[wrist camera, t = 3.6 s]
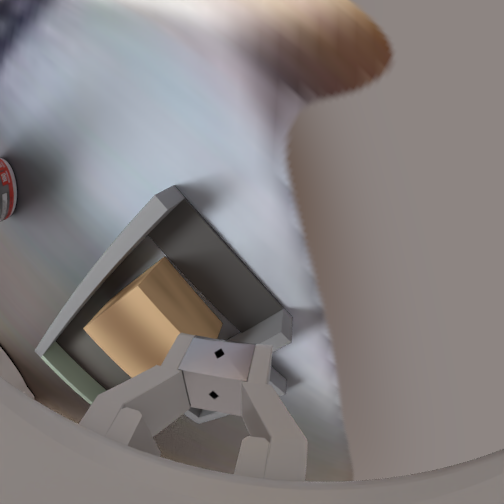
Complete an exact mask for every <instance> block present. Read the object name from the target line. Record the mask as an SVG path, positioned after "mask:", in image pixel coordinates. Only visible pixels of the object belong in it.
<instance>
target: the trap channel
mask: <svg viewBox="0 0 504 504" xmlns="http://www.w3.org/2000/svg"><path fill="white" fill-rule="evenodd" d="M147 235H149V237H150V238H151V239H152V240H153V241H154V242H155V243H156V244H157V246H158V247H159V248H160V249H161V250H162V251H163V252H164V253H165V254H166V255H167V257H168V258H169V259H170V260H171V261H172V262H173V263H174V264H175V265H176V266H177V267H178V268H179V270H180V271H181V272H182V273H183V274H184V275H185V276H186V277H187V278H188V279H189V280H190V281H191V282H192V283H193V284H194V285H195V286H196V287H197V289H198V290H199V291H200V292H201V293H202V294H203V295H204V296H205V297H206V298H207V299H208V300H209V301H210V302H211V303H212V304H213V305H214V306H215V307H216V308H217V309H218V310H219V311H220V312H221V313H222V314H223V315H224V316H225V317H226V318H227V319H228V320H229V321H230V322H231V323H232V324H233V325H234V326H235V327H236V328H237V329H238V330H239V331H240V333H239V334H237V335H235V336H233V337H231V338H230V339H228V340H227V341H235V342H243V343H252V344H263V345H272V346H273V351H272V353H273V352H275V351H277V350H278V349H280V348H282V347H284V346H286V345H288V344H290V343H291V342H292V320H293V317H292V316H291V315H290V314H289V313H288V312H287V311H286V310H285V309H284V307H283V306H282V305H281V304H280V303H279V302H278V301H277V300H276V299H275V298H274V297H273V295H272V294H271V293H270V292H269V291H268V290H267V289H266V288H265V287H264V285H263V284H262V283H261V282H260V281H259V280H258V279H257V278H256V277H255V276H254V274H253V273H252V272H251V271H250V270H249V269H248V268H247V267H246V266H245V264H244V263H243V262H242V261H241V260H240V259H239V258H238V257H237V256H236V254H235V253H234V252H233V251H232V250H231V249H230V248H229V247H228V245H227V244H226V243H225V242H224V241H223V240H222V239H221V238H220V237H219V235H218V234H217V233H216V232H215V231H214V230H213V229H212V228H211V226H210V225H209V224H208V223H207V222H206V221H205V220H204V219H203V217H202V216H201V215H200V214H199V213H198V212H197V211H196V209H195V208H194V207H193V206H192V205H191V204H190V203H189V202H188V200H187V199H186V198H185V197H184V196H183V195H182V194H181V192H180V191H179V190H178V189H177V188H176V187H175V186H174V185H173V186H171V187H169V188H168V189H166V190H164V191H162V192H160V193H158V194H156V195H155V196H154V197H153V198H152V199H151V200H150V201H149V202H148V203H147V204H146V205H145V206H144V207H143V208H142V210H141V211H140V212H139V213H138V214H137V215H136V216H135V217H134V218H133V220H132V221H131V222H130V223H129V224H128V225H127V226H126V228H125V229H124V230H123V231H122V232H121V233H120V234H119V236H118V237H117V238H116V239H115V240H114V242H113V243H112V244H111V245H110V246H109V248H108V249H107V250H106V251H105V252H104V254H103V255H102V256H101V257H100V259H99V260H98V261H97V262H96V264H95V265H94V266H93V268H92V269H91V270H90V271H89V273H88V274H87V275H86V277H85V278H84V279H83V281H82V282H81V283H80V285H79V286H78V287H77V289H76V290H75V291H74V293H73V294H72V295H71V297H70V298H69V300H68V301H67V302H66V304H65V305H64V307H63V308H62V310H61V311H60V312H59V314H58V315H57V317H56V318H55V320H54V321H53V323H52V324H51V326H50V327H49V329H48V330H47V332H46V333H45V335H44V337H43V338H42V340H41V341H40V343H39V345H38V346H37V348H36V349H35V352H36V353H37V354H38V355H39V356H40V357H41V358H42V359H43V360H44V362H45V363H46V364H47V365H48V366H49V367H50V368H51V369H52V370H53V371H54V372H55V373H56V374H57V375H58V376H59V377H60V378H61V379H62V380H63V381H64V382H66V383H67V384H68V385H69V386H70V387H71V388H72V389H73V390H74V391H75V392H76V393H78V394H79V395H80V396H81V397H82V398H83V399H84V400H86V401H87V402H88V403H89V404H90V405H92V403H93V402H94V400H95V399H96V397H97V396H98V395H99V394H101V393H103V392H105V391H107V390H106V389H105V388H103V387H102V386H101V385H100V384H99V383H98V382H97V381H95V380H94V379H93V378H92V377H91V376H90V375H89V374H88V373H87V372H86V371H84V370H83V369H82V368H81V367H80V366H79V365H78V364H77V363H76V362H75V361H74V360H73V359H72V358H71V357H70V356H69V355H68V354H67V353H66V352H65V351H64V350H63V349H62V348H61V347H60V346H59V345H58V344H57V342H56V340H57V338H58V337H59V336H60V334H61V333H62V332H63V331H64V329H65V328H66V327H67V326H68V324H69V323H70V322H71V321H72V319H73V318H74V317H75V316H76V314H77V313H78V312H79V311H80V310H81V308H82V307H83V306H84V305H85V304H86V302H87V301H88V300H89V299H90V298H91V296H92V295H93V294H94V293H95V292H96V291H97V289H98V288H99V287H100V286H101V285H102V284H103V283H104V281H105V280H106V279H107V278H108V277H109V276H110V275H111V274H112V272H113V271H114V270H115V269H116V268H117V267H118V266H119V265H120V264H121V263H122V262H123V260H124V259H125V258H126V257H127V256H128V255H129V254H130V253H131V252H132V251H133V250H134V249H135V248H136V247H137V246H138V244H139V243H140V242H141V241H142V240H143V239H144V238H145V237H146V236H147ZM286 383H287V380H286V379H285V378H284V377H283V376H282V375H281V374H280V373H278V372H277V371H276V370H275V369H274V368H273V367H272V366H271V371H270V381H269V385H272V387H273V388H274V390H275V391H276V393H277V394H278V396H279V397H280V396H282V395H285V394H286ZM184 414H185V415H186V416H187V417H189V418H190V419H192V420H193V421H195V422H196V423H197V424H200V423H203V422H207V421H210V420H214V419H217V418H220V417H223V416H227V415H230V414H226V413H221V412H216V411H210V410H204V409H199V408H193V407H190V409H189V410H188V411H186V412H185V413H184Z"/></svg>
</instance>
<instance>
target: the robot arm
mask: <svg viewBox="0 0 504 504" xmlns="http://www.w3.org/2000/svg"><path fill="white" fill-rule="evenodd" d="M272 351H273V346H272V345H263V344H252V343H243V342H235V341H227V340H226V341H225V340H220V339H214V338H208V337H203V336H197V335H196V336H195V335H190V334H185V333H180V334H179V335H178V336H177V338H176V340H175V341H174V343H173V345H172V347H171V349H170V350H169V352H168V354H167V356H166V357H165V359H164V361H163V363H162V365H161V366H159V365H156V366H154V367H152V368H150V369H148V370H146V371H144V372H142V373H141V374H139V375H137V376H135V377H133V378H131V379H129V380H127V381H125V382H123V383H121V384H119V385H117V386H115V387H113V388H111V389H109V390H107V391H105V392H103V393H101V394H99V395H98V396H97V397H96V399H95V400H94V402H93V403H92V405H91V406H90V408H89V409H88V411H87V412H86V414H85V415H84V417H83V418H82V420H81V421H80V423H79V424H77V423H75V422H73V421H71V420H69V419H67V418H65V417H64V416H62V415H60V414H58V413H56V412H54V411H53V410H51V409H49V408H47V407H46V406H44V405H42V404H41V403H39V402H37V401H36V400H34V398H35V397H34V395H33V394H32V393H31V391H30V390H29V389H28V387H27V386H26V384H25V382H24V380H23V378H22V376H21V375H20V373H19V372H18V370H17V368H16V367H15V366H14V364H13V363H12V361H11V360H10V359H9V357H8V356H7V355H6V353H5V352H4V351H3V349H2V348H1V347H0V504H504V449H502V450H499V451H497V452H494V453H492V454H488V455H486V456H483V457H480V458H477V459H474V460H470V461H467V462H464V463H460V464H457V465H453V466H449V467H445V468H441V469H437V470H432V471H428V472H422V473H417V474H412V475H406V476H399V477H392V478H385V479H375V480H362V481H344V482H305V476H306V463H307V447H308V440H307V439H306V437H305V436H304V434H303V433H302V431H301V430H300V428H299V427H298V425H297V424H296V422H295V421H294V419H293V418H292V416H291V415H290V413H289V412H288V410H287V408H286V407H285V405H284V404H283V402H282V401H281V399H280V398H279V396H278V394H277V393H276V391H275V390H274V388H273V387H272V385H269V381H270V371H271V361H272ZM190 407H193V408H199V409H204V410H210V411H216V412H221V413H226V414H231V415H237V416H242V419H243V421H244V424H245V426H246V428H247V430H248V433H249V435H250V436H247V437H246V438H244V439H242V443H241V447H240V451H239V455H238V459H237V463H236V467H235V471H234V474H229V473H224V472H219V471H214V470H209V469H204V468H200V467H196V466H191V465H187V464H184V463H180V462H176V461H173V460H169V459H166V458H162V457H160V455H161V452H160V450H159V448H158V446H157V444H156V442H155V440H154V439H153V437H154V436H155V435H156V434H158V433H159V432H160V431H162V430H163V429H164V428H166V427H167V426H168V425H170V424H171V423H172V422H173V421H175V420H176V419H177V418H179V417H180V416H181V415H182V414H184V413H185V412H186V411H188V410H189V409H190Z"/></svg>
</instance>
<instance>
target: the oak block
mask: <svg viewBox="0 0 504 504" xmlns="http://www.w3.org/2000/svg"><path fill="white" fill-rule="evenodd" d="M222 324H223V323H222V322H221V321H220V320H219V319H218V317H217V316H216V315H215V314H214V313H213V312H212V311H211V310H210V308H209V307H208V306H207V305H206V304H205V303H204V302H203V301H202V299H201V298H200V297H199V296H198V295H197V294H196V293H195V291H194V290H193V289H192V288H191V287H190V286H189V284H188V283H187V282H186V281H185V280H184V278H183V277H182V276H181V275H180V274H179V273H178V271H177V270H176V269H175V268H174V267H173V265H172V264H171V263H170V262H169V260H168V259H167V258H166V257H163V258H162V259H161V260H159V261H158V262H157V263H155V264H154V265H153V266H152V267H150V268H149V269H148V270H146V271H145V272H144V273H143V274H141V275H140V276H139V277H138V278H136V279H135V280H134V281H133V282H131V283H130V284H129V285H128V286H126V287H125V288H124V289H123V290H121V291H120V292H119V293H118V294H116V295H115V296H114V297H113V298H111V299H110V300H109V301H108V302H107V303H106V304H105V305H104V306H103V307H102V309H101V310H100V311H99V312H98V313H97V314H96V315H95V316H94V317H93V318H92V319H91V321H90V322H89V323H88V324H87V325H86V326H85V327H84V328H83V329H84V330H85V331H86V332H87V333H88V335H89V336H90V337H91V338H92V339H93V340H94V341H95V342H96V343H97V344H98V345H99V346H100V347H101V348H102V349H103V350H104V351H105V353H106V354H107V355H108V356H109V357H110V358H111V359H112V360H113V361H114V362H116V363H117V364H118V365H119V366H120V367H121V368H122V369H123V370H124V371H125V372H126V373H127V374H128V375H129V376H130V377H131V378H133V377H135V376H137V375H139V374H141V373H142V372H144V371H146V370H148V369H150V368H152V367H154V366H156V365H159V366H161V365H162V363H163V361H164V359H165V357H166V356H167V354H168V352H169V350H170V349H171V347H172V345H173V343H174V341H175V340H176V338H177V336H178V335H179V334H180V333H185V334H190V335H195V336H196V335H197V336H203V337H208V338H214V339H217V338H218V335H219V332H220V330H221V327H222Z"/></svg>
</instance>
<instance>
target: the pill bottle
mask: <svg viewBox="0 0 504 504" xmlns="http://www.w3.org/2000/svg"><path fill="white" fill-rule="evenodd" d="M16 201H17V186H16V180H15V176H14V173H13V170H12V168H11V166H10V165H9V163H8V162H7V161H6V160H4V159H2V158H0V222H1V221H3V220H5V219H7V218H8V217H10V216H11V215H12V213H13V211H14V209H15V206H16Z"/></svg>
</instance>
